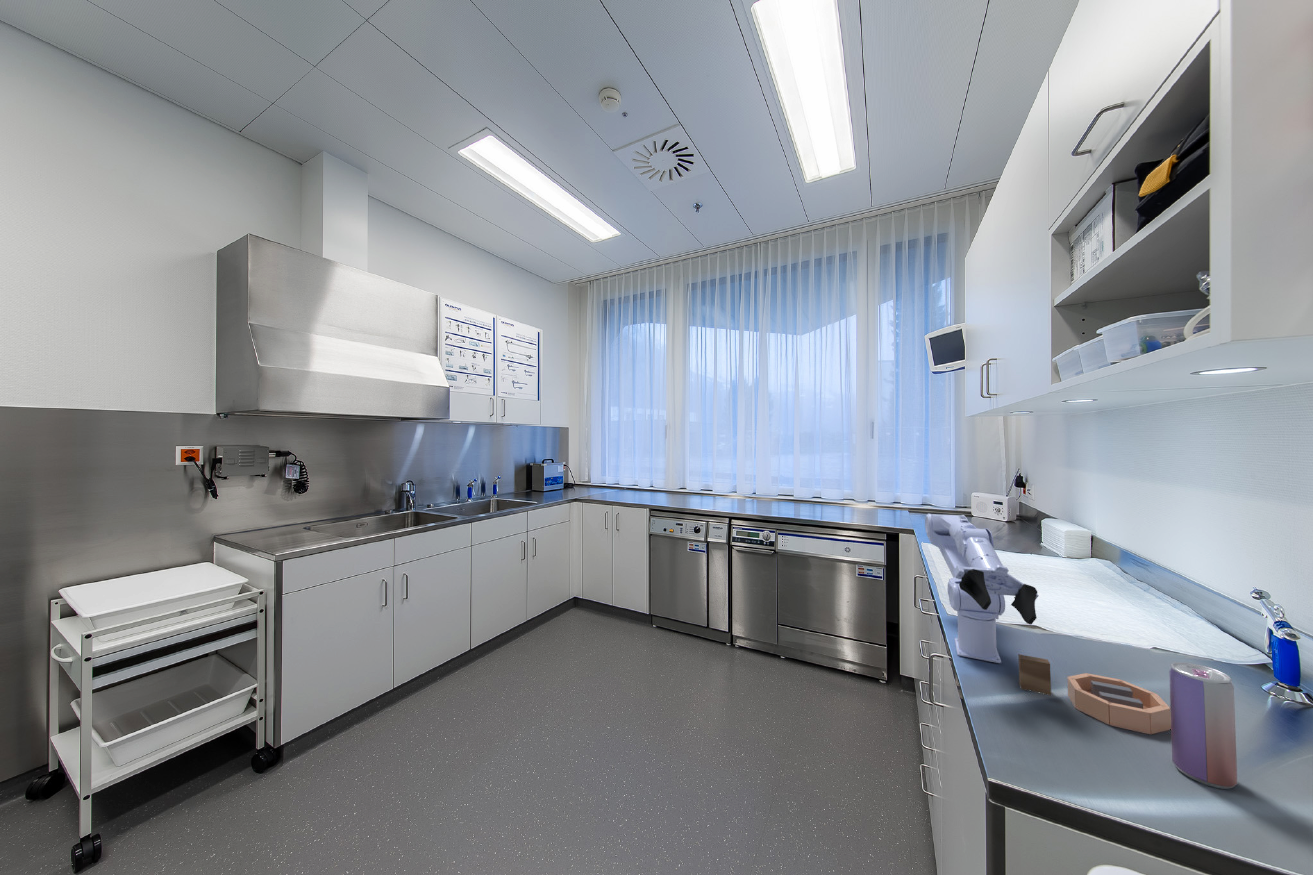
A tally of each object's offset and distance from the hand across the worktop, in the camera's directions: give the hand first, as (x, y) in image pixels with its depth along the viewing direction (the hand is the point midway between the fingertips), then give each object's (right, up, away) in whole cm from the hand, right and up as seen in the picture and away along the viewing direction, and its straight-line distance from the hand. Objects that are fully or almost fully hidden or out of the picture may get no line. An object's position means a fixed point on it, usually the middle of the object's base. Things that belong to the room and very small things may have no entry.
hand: (1009, 613), depth 84 cm
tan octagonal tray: (+16, -16, -4) cm, 23 cm away
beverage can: (+13, -16, -19) cm, 28 cm away
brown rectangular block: (+8, -16, +3) cm, 18 cm away
